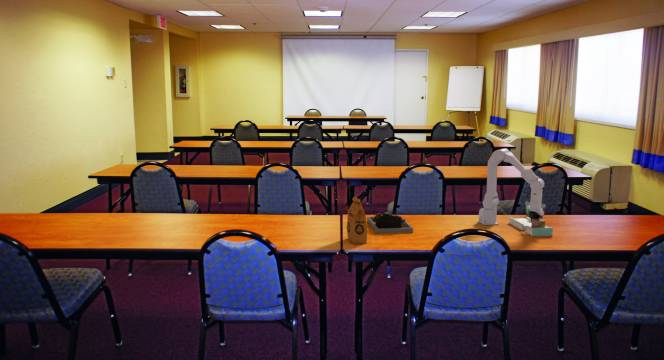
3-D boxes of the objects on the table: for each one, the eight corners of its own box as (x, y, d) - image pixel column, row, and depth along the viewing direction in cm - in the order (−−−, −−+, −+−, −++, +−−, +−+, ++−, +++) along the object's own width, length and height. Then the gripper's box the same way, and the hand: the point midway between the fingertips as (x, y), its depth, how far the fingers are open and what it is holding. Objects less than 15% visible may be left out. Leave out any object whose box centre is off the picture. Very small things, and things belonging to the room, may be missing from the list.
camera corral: (377, 233, 275) (377, 229, 274) (367, 220, 300) (367, 216, 300) (412, 232, 278) (413, 228, 277) (400, 219, 303) (400, 215, 302)
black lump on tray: (404, 226, 290) (404, 209, 288) (405, 232, 278) (405, 214, 276) (372, 225, 292) (373, 208, 290) (372, 231, 280) (372, 213, 278)
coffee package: (349, 245, 256) (350, 202, 251) (345, 237, 268) (346, 196, 264) (369, 244, 257) (370, 201, 253) (364, 237, 269) (364, 196, 265)
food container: (520, 217, 310) (521, 201, 308) (525, 216, 314) (526, 200, 312) (539, 221, 301) (541, 205, 299) (544, 220, 305) (546, 203, 303)
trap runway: (533, 236, 272) (533, 228, 271) (508, 222, 298) (509, 215, 297) (552, 235, 273) (553, 227, 272) (526, 222, 299) (527, 214, 298)
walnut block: (536, 230, 274) (536, 221, 273) (531, 227, 279) (531, 218, 278) (544, 230, 275) (545, 221, 274) (539, 227, 280) (540, 218, 279)
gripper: (550, 203, 272) (548, 228, 274) (535, 197, 286) (533, 221, 289) (537, 204, 271) (535, 228, 273) (524, 198, 285) (522, 221, 288)
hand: (534, 224), depth 281 cm, fingers closed
